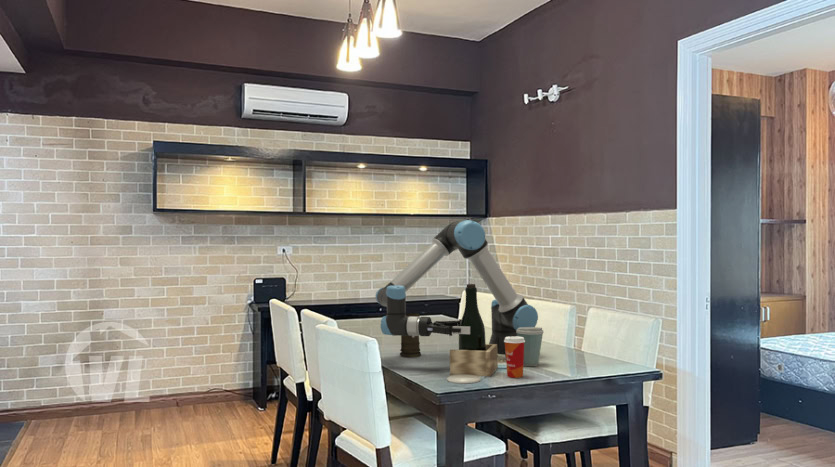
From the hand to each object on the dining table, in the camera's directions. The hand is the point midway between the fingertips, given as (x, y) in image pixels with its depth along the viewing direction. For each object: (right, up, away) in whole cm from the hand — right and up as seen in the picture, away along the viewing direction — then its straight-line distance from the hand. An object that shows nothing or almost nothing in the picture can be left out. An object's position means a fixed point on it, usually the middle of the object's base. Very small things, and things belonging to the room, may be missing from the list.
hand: (474, 327), depth 242 cm
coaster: (-5, -16, -14) cm, 22 cm away
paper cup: (+14, -16, -10) cm, 24 cm away
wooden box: (-1, -16, +1) cm, 16 cm away
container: (-24, -17, +33) cm, 45 cm away
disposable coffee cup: (+23, -16, +10) cm, 30 cm away
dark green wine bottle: (-1, -17, +1) cm, 17 cm away
